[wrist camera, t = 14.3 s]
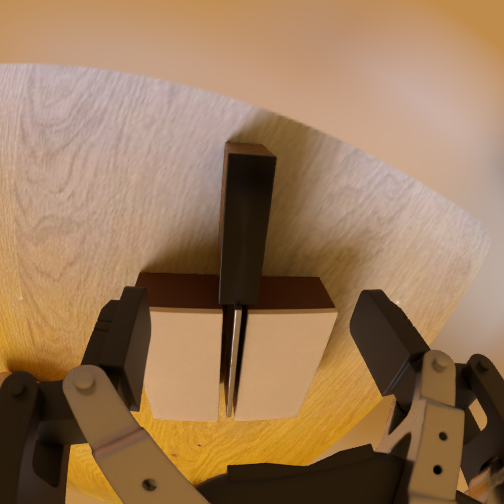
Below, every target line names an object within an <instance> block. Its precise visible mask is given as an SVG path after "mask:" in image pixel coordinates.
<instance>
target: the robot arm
mask: <svg viewBox="0 0 504 504" xmlns="http://www.w3.org/2000/svg"><path fill="white" fill-rule="evenodd" d="M407 318H408V317H407V316H406V315H405V313H404V312H403V311H402V309H401V308H400V307H398V306H397V305H396V304H394V303H393V302H392V301H390V300H389V298H388V297H387V296H386V294H385V293H384V292H383V291H382V290H380V289H376V290H363V291H362V292H361V293H360V296H359V298H358V301H357V304H356V307H355V309H354V312H353V315H352V317H351V320H350V333H351V335H352V337H353V339H354V341H355V343H356V345H357V347H358V349H359V351H360V353H361V355H362V357H363V359H364V361H365V363H366V365H367V367H368V369H369V371H370V373H371V375H372V377H373V379H374V381H375V383H376V385H377V387H378V389H379V391H380V393H381V395H382V397H384V396H388V395H392V394H394V396H395V399H394V400H393V402H392V405H391V409H390V412H389V417H388V420H387V423H386V427H385V430H384V434H383V437H382V440H381V442H380V444H379V446H378V447H377V448H376V450H375V451H373V448H372V445H371V444H367V445H363V446H359V447H355V448H351V449H347V450H343V451H339V452H337V453H335V454H333V455H332V456H329V457H327V458H325V459H323V460H320V461H318V462H316V463H314V464H311V465H309V466H294V465H282V464H273V463H258V464H244V465H227V473H225V474H221V475H217V476H215V477H212V478H210V479H208V480H206V481H204V482H202V483H200V484H199V485H197V486H196V487H194V486H193V485H192V484H191V483H190V482H189V481H188V480H187V479H186V478H185V477H184V476H183V474H182V473H181V472H180V471H179V470H178V469H177V468H176V466H175V465H174V464H173V463H172V462H171V461H170V459H169V458H168V457H167V456H166V455H165V453H164V452H163V451H162V450H161V448H160V447H159V446H158V445H157V443H156V442H155V441H154V440H153V438H152V437H151V436H150V434H149V433H148V432H147V431H146V430H145V429H144V428H143V427H141V426H140V425H139V424H138V423H137V421H136V420H135V418H134V417H133V415H132V414H131V412H130V411H137V412H139V411H140V403H141V395H142V388H143V381H144V375H145V368H146V362H147V356H148V350H149V345H150V339H151V316H150V309H149V301H148V293H147V288H146V287H131V286H126V287H125V288H124V290H123V293H122V295H121V298H120V300H110V301H109V302H108V303H107V304H106V305H105V306H104V307H103V308H102V309H101V312H100V314H99V317H98V319H97V320H98V321H97V322H96V324H95V327H94V331H93V332H92V335H91V337H90V340H89V343H88V345H87V348H86V351H85V354H84V357H83V359H82V362H81V365H80V366H77V367H75V368H73V369H72V370H70V371H69V372H68V373H67V374H66V376H65V378H64V379H63V380H59V381H52V382H43V383H37V381H36V379H35V378H34V377H33V376H32V375H31V374H29V373H27V372H15V373H12V374H11V375H9V376H8V377H6V379H5V380H4V381H3V383H2V385H1V387H0V504H65V496H66V495H65V494H66V483H67V472H68V462H69V454H70V447H71V445H73V444H83V443H89V445H90V447H91V449H92V455H93V457H94V459H95V461H96V463H97V464H98V466H99V468H100V469H101V471H102V472H103V474H104V476H105V477H106V479H107V480H108V482H109V483H110V485H111V486H112V488H113V489H114V491H115V492H116V494H117V495H118V496H119V498H120V499H121V501H122V502H123V503H124V504H504V380H503V378H502V377H501V375H500V374H499V372H498V371H497V369H496V368H495V366H494V365H493V363H492V362H491V361H490V360H489V359H488V358H487V357H485V356H483V355H481V354H474V355H472V356H471V357H470V359H469V360H468V362H467V363H466V364H461V363H454V362H453V360H452V359H451V358H450V357H449V356H448V355H447V354H445V353H444V352H441V351H439V350H431V349H430V348H429V347H428V345H427V344H426V342H425V341H424V339H423V338H422V337H421V335H420V334H419V332H418V331H417V330H416V328H415V327H414V326H413V324H412V323H411V321H410V320H409V319H407ZM476 398H477V399H478V401H479V403H480V405H481V407H482V408H483V410H484V412H485V414H486V416H487V425H486V427H485V428H484V429H483V430H482V431H480V429H479V427H478V425H477V423H476V421H475V419H474V417H473V415H472V413H471V411H470V409H469V406H470V405H471V404H472V403H473V402H474V400H475V399H476ZM460 467H461V470H462V472H463V474H464V477H465V480H466V482H467V485H468V488H469V489H468V490H467V491H465V492H464V493H462V492H460V491H458V490H456V489H457V483H458V477H459V471H460Z"/></svg>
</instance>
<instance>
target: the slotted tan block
mask: <svg viewBox="0 0 504 504" xmlns="http://www.w3.org/2000/svg"><path fill="white" fill-rule="evenodd" d="M135 287H146V288H147V293H148V301H149V309H150V316H151V339H150V345H149V350H148V356H147V362H146V368H145V375H144V381H143V383H144V387H145V390H146V394H147V397H148V400H149V404H150V407H151V410H152V413H153V417H154V419H162V420H179V421H218V411H219V385H220V362H221V342H222V323H223V307H222V304H219V303H218V280H217V275H192V274H164V273H141V272H140V273H139V276H138V279H137V281H136V284H135ZM241 308H242V314H241V324H240V333H239V343H238V353H237V363H236V372H235V382H234V392H233V407H234V416H235V421H250V420H267V419H279V418H290V417H297V415H298V413H299V411H300V409H301V406H302V404H303V402H304V400H305V397H306V395H307V393H308V390H309V388H310V386H311V383H312V381H313V378H314V376H315V373H316V371H317V368H318V366H319V363H320V361H321V358H322V356H323V353H324V351H325V348H326V345H327V343H328V340H329V337H330V334H331V332H332V329H333V326H334V323H335V320H336V317H337V315H338V311H337V309H336V308H335V306H334V304H333V302H332V300H331V298H330V296H329V295H328V293H327V291H326V289H325V287H324V285H323V284H322V282H321V280H320V278H319V277H265V276H261V281H260V289H259V296H258V303H257V305H241Z"/></svg>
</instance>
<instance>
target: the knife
mask: <svg viewBox="0 0 504 504" xmlns="http://www.w3.org/2000/svg"><path fill="white" fill-rule="evenodd" d="M276 160H277V157H276V156H275V155H274V154H273V153H272V152H270V151H269V150H268V149H267V148H266V147H265V146H264V145H261V144H249V143H236V142H225V150H224V163H223V176H222V190H221V205H220V220H219V238H218V257H217V280H218V303H219V304H228V311H227V326H226V342H225V359H224V390H225V403H226V415H227V417H231V412H232V402H233V392H234V382H235V372H236V363H237V353H238V343H239V333H240V324H241V314H242V308H241V305H257V303H258V296H259V289H260V281H261V274H262V267H263V260H264V252H265V245H266V237H267V230H268V222H269V215H270V207H271V199H272V192H273V184H274V176H275V168H276Z"/></svg>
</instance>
